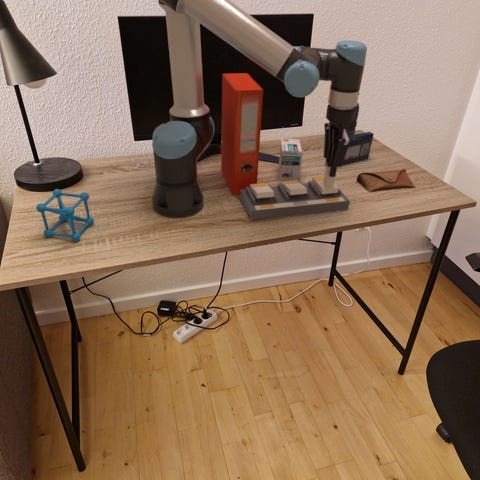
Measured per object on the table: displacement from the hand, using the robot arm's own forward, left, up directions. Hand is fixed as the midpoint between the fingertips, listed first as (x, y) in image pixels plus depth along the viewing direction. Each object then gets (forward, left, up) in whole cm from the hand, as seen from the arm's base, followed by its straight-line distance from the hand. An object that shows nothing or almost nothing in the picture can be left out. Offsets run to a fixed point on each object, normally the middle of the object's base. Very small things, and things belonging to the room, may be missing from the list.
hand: (328, 184), depth 128 cm
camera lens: (+26, +45, -7) cm, 52 cm away
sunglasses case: (+25, +8, -7) cm, 27 cm away
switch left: (-20, +3, -1) cm, 20 cm away
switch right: (0, +3, -1) cm, 3 cm away
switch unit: (-10, +2, -6) cm, 12 cm away
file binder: (-23, +19, -7) cm, 30 cm away
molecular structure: (-74, 0, -7) cm, 74 cm away
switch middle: (-10, +3, -1) cm, 10 cm away
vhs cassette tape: (+19, +26, -7) cm, 33 cm away
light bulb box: (-5, +21, -7) cm, 22 cm away
